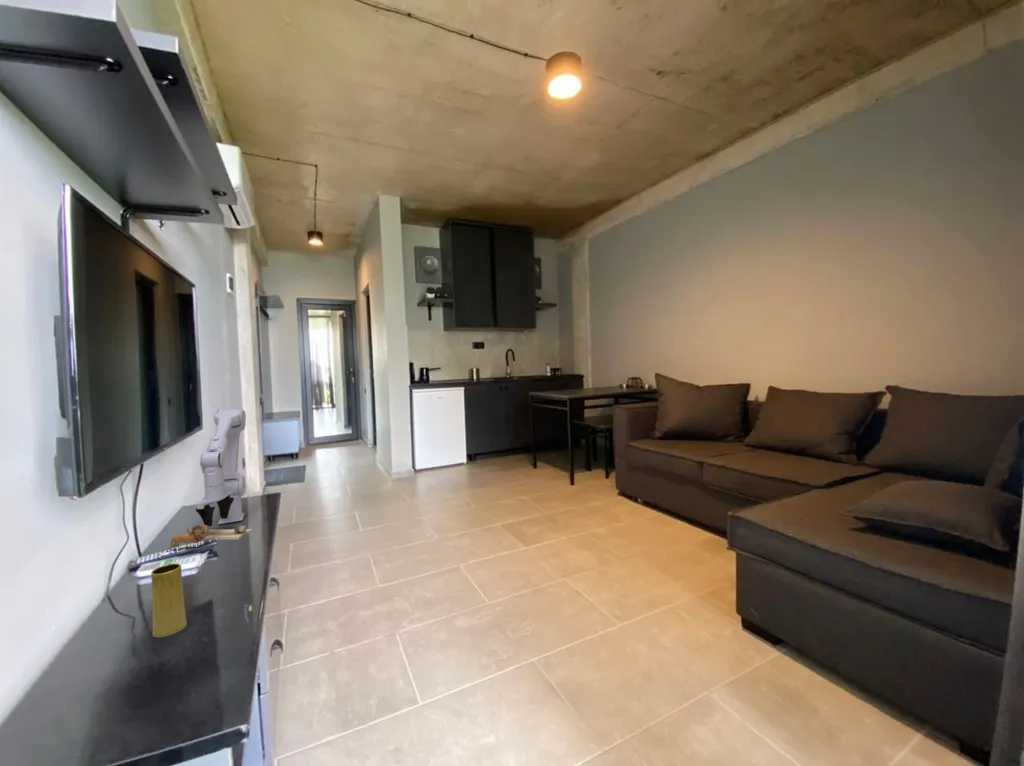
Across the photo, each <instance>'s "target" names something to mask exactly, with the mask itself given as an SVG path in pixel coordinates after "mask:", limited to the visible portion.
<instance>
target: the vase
mask: <svg viewBox="0 0 1024 766" xmlns="http://www.w3.org/2000/svg"><path fill="white" fill-rule="evenodd" d="M182 576H183V575H182V564H180V563H176V562H175V563H168V564H164V565H161V566H158V567H156V568H155V569H153V570H152V571H151V573H150V577H151V590H152V592H151V593H152V633H151V634H152V637H155V638H165V637H170V636H172V635H175V634H177V633H179V632H180V631H182V630H185V628H186V627H187V625H188V621H187V617H186V609H185V600H184V599H185V598H184V589H183V588H184V587H183V577H182Z"/></svg>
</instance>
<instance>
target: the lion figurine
mask: <svg viewBox="0 0 1024 766" xmlns="http://www.w3.org/2000/svg"><path fill="white" fill-rule="evenodd" d="M209 530H210V527H209V526H207V525H204V524H202V525H200V527H199V528H198V529H196V530H195V531H193V532H192V533H191V534H189V533H188V535H187V534H177V535H175V536H173V537H172V538H171V542H170V546H169V548H168V550H169V549H170V548H171V549H172V548H173V547H175V548H176V547H178V548H179V547H180V544H181V543H183V544H192V543H193V544H194V543H198V544H199V542H202V541H204V540H205V539H204V538H205V537H206V536H208V534H209V532H210V531H209ZM171 549H170V550H171Z"/></svg>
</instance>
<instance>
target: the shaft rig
mask: <svg viewBox="0 0 1024 766" xmlns="http://www.w3.org/2000/svg"><path fill="white" fill-rule="evenodd" d="M200 526H201V525H200V524H197V525H194V526H188V527H187V529H186V532H187V533H188V534H191V533H192V532H193V531H195V530H196V529H198V528H199V527H200ZM247 527H248V526H247V525H243V524H242V523H241V524H237V525H236V526H234V527H233V529H232V528H231V529H227V528H226V529H225V528H224V529H221V528H220V529H209V531H210V532H209V534H208V536H206V537H205V538H218V539H217V540H240V539H242V538H243V537H242V536H244V535H246V534H247V533H249V532H251V531H252V532H253V528H247ZM252 532H251V533H252ZM188 534H186V535H188ZM249 534H250V533H249ZM247 535H248V534H247ZM247 535H246V536H247ZM241 537H242V538H241ZM244 537H245V536H244ZM239 538H240V539H239Z"/></svg>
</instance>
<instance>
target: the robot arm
mask: <svg viewBox="0 0 1024 766" xmlns="http://www.w3.org/2000/svg"><path fill="white" fill-rule="evenodd" d="M246 420H247V416H246V411H245V409H244V408H237V409H235V408H234V409H233V408H232V409H216V410H215V412H214V413H213V422H214V423H215V426H216V430H215V433H214V436H212V437H211V438H210V439H209V442H208V445H207V448H206V450H205V452H204V453H201V455H200V458H199V459H200V461H199V465H200V468H201V474H203V481H204V482H203V483H204V497H203V498H202V500H200V501H199V502H197V503H196V507H195V512H196V513H197V514H198V515H199V516H200V518H201V520H202V523H203V525H207V526H209V528H210V527H212V526H213V522H214V521H213V520H214V519H213V516H214V511H215V509H216V507H215V506H210V505H213V504H217V506H218V510H219V518H220V519H219V520H218V522H217V524H218V525H223V524H228V523H229V524H230V523H235V522H241V521H243V520H244V516H245V512H243V508H242V496H243V495H244V494H245V493H246V490H247V489H246V486H247V484H246V477H245V476H244V475H243V474H241V473H240V472H238V470H239V469H238V466H239V465H238V464H239V453H240V452H239V450H240V435H241V432H242V431H244V430H245V428H246V422H247V421H246Z"/></svg>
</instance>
